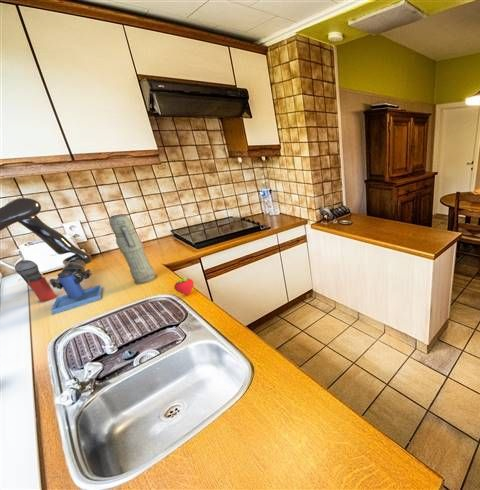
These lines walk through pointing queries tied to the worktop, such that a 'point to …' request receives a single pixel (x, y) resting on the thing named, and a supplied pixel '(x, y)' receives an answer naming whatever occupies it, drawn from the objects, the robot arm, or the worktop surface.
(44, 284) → the red bottle
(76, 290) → the blue bottle
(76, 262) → the robot arm
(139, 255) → the stone statue
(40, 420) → the worktop surface
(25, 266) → the beverage cup
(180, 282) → the strawberry
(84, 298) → the blue tray
